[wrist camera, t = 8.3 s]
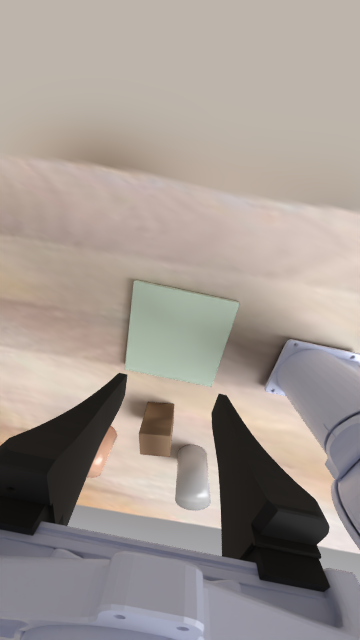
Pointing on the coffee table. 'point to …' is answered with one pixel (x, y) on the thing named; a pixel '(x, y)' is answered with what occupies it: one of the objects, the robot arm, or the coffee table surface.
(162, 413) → the walnut block
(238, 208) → the coffee table surface
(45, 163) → the coffee table surface
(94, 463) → the pink rounded capsule
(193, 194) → the coffee table surface
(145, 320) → the sage board
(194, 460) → the grey stone cylinder
